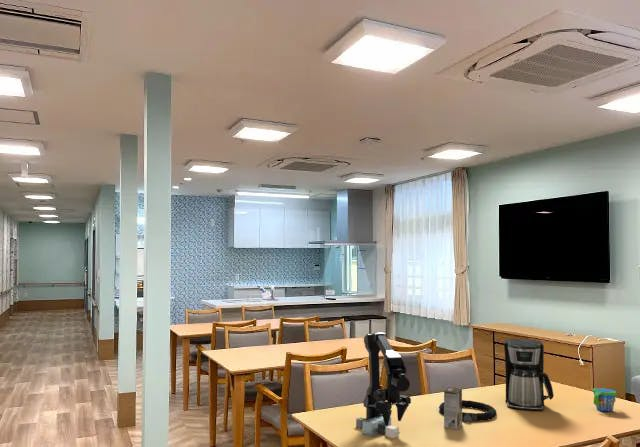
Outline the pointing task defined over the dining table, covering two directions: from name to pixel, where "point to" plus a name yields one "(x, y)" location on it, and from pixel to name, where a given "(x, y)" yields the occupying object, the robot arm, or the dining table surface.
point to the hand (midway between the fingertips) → (393, 423)
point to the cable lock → (475, 416)
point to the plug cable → (389, 432)
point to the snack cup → (604, 399)
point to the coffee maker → (526, 374)
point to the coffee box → (452, 408)
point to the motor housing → (374, 425)
